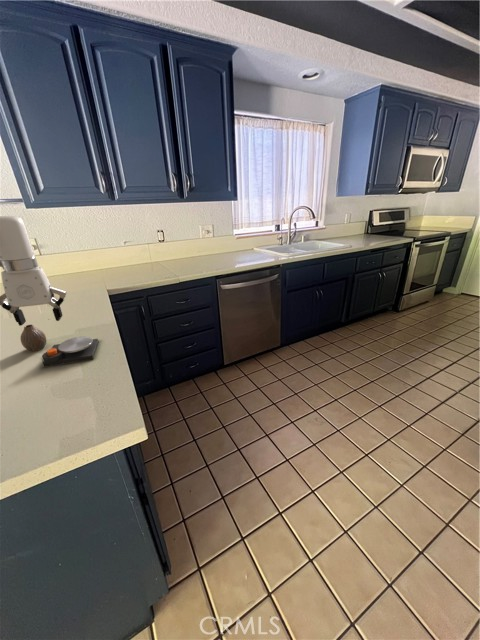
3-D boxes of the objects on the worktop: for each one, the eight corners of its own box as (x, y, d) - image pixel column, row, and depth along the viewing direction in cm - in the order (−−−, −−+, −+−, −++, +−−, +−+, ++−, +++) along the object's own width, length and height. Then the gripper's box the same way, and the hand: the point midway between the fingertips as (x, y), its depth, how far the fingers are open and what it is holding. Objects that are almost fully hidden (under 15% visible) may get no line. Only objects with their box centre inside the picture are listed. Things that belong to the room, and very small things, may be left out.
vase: (22, 355, 89) (12, 332, 85) (27, 345, 94) (18, 323, 91) (46, 350, 91) (38, 328, 88) (50, 341, 97) (42, 320, 93)
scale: (42, 367, 82) (39, 359, 81) (54, 348, 93) (51, 340, 92) (93, 359, 86) (91, 351, 85) (98, 341, 97) (96, 334, 96)
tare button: (46, 357, 83) (45, 353, 82) (49, 353, 85) (47, 348, 84) (56, 355, 83) (54, 351, 83) (58, 351, 86) (57, 347, 85)
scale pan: (54, 355, 83) (54, 353, 83) (63, 340, 92) (62, 339, 91) (89, 349, 86) (89, 348, 86) (94, 336, 95) (94, 334, 94)
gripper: (-26, 270, 66) (0, 331, 74) (53, 265, 71) (70, 322, 79) (-11, 264, 73) (12, 320, 80) (60, 259, 78) (76, 312, 85)
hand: (41, 321), depth 79 cm, fingers open, 9 cm apart
